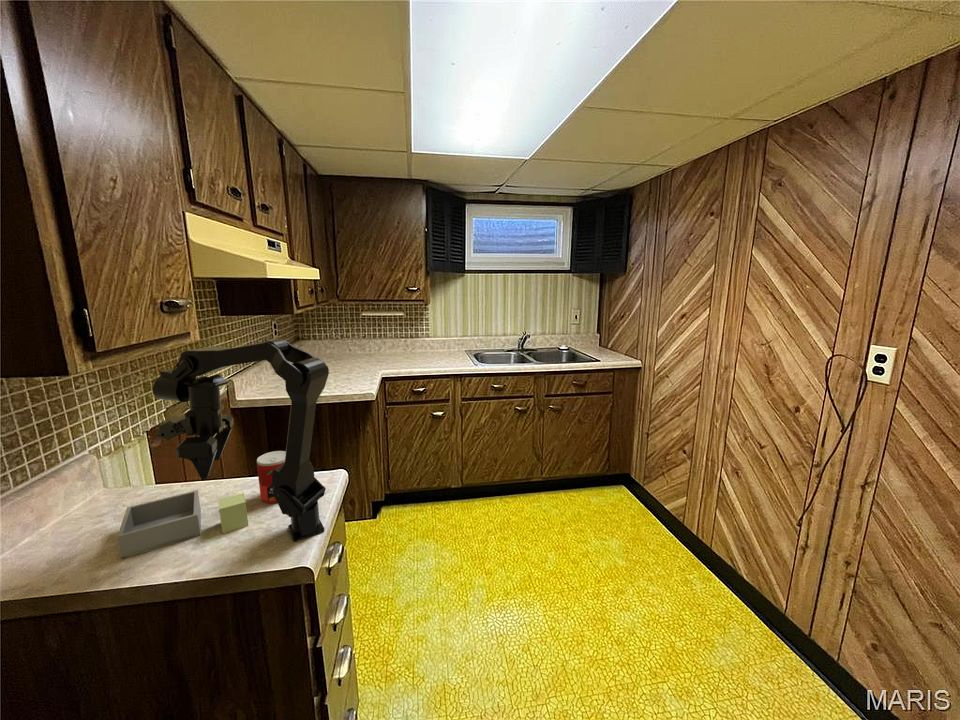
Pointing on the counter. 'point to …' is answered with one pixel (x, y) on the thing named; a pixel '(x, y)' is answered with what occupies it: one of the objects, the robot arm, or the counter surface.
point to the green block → (233, 512)
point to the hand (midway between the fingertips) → (210, 468)
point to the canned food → (268, 473)
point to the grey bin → (159, 523)
